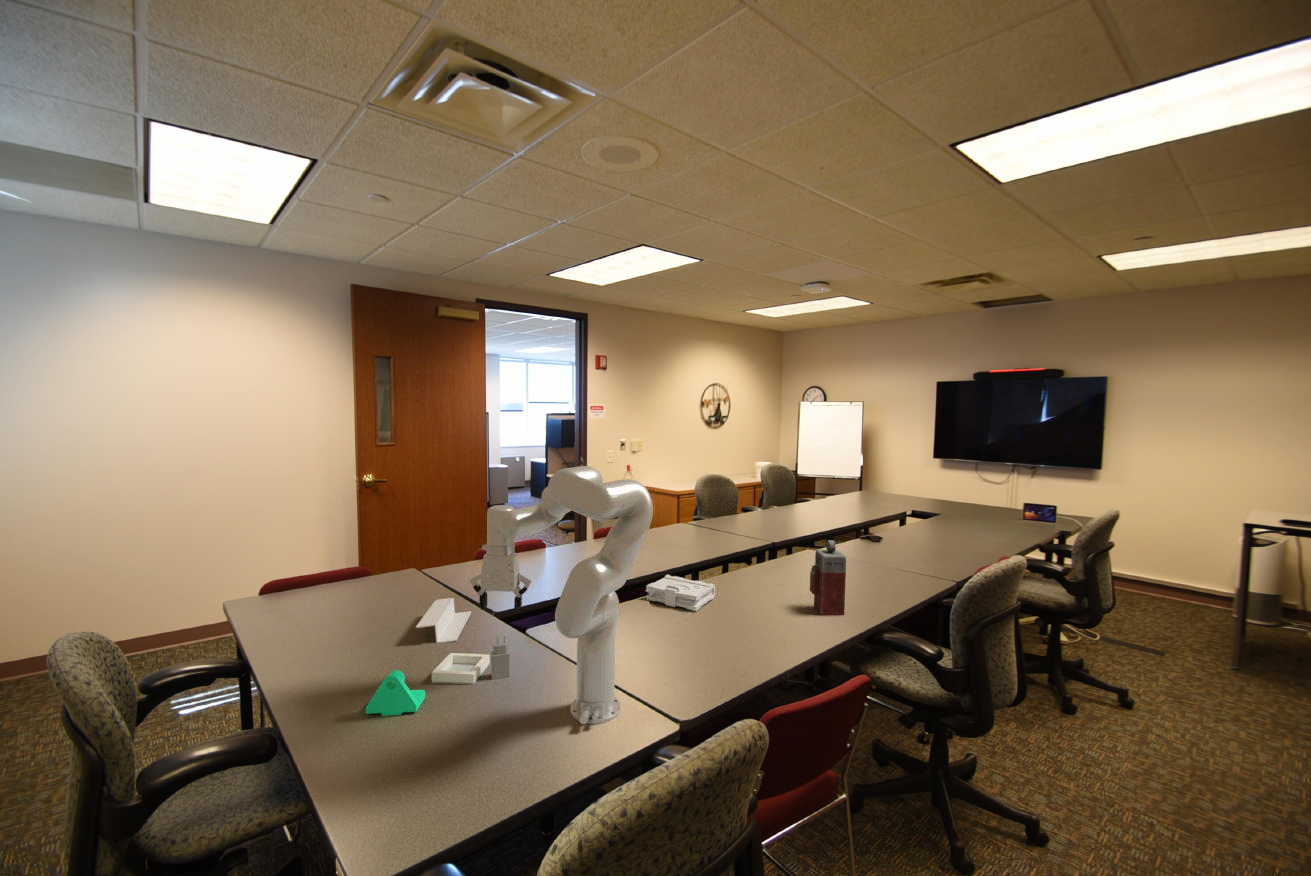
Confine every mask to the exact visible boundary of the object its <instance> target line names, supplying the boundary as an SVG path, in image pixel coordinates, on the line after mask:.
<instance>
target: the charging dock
mask: <svg viewBox="0 0 1311 876" xmlns="http://www.w3.org/2000/svg"><path fill="white" fill-rule="evenodd" d="M490 661H491V654H487V653H486V654H483V653H463V652H462V653H461V652H458V653H456V652H450V653H449V654H448V655H447V656H446V657H445V658H444V659H443V660H442V661H441V662H440V663H439V664H438V665H437V666H436V667H435V668H434V669H433V671H432V672H431V684H457V685H460V684H461V685H462V684H463V685H475V683H476V682H477V681H478V680H479V678H480V677H481V676H482V675H483V673H484V672H485V671H486V670H487V668H488V667H489V665H491V662H490Z"/></svg>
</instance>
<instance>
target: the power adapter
mask: <svg viewBox="0 0 1311 876" xmlns="http://www.w3.org/2000/svg"><path fill="white" fill-rule="evenodd" d="M496 638H497V639H496V641H497V642H496V643H494V644H493V645H492V651H491V654H490V661H491V662H490V667H491V668H490V671H491V672H490V676H491V677H490V679H491V680H500V679H506V678H507V679H508V678H511V676H512V650H511V649H510V643H509V642H506V635H504V636H503V642H499V636H498V635H497V637H496Z"/></svg>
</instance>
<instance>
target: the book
mask: <svg viewBox="0 0 1311 876" xmlns="http://www.w3.org/2000/svg"><path fill="white" fill-rule="evenodd" d="M645 592H646V593H648V594H647V595H646V596H645V598H648V599H649V600H648V599H646V601H647V600H648V601H651V602H659V603H663V604H664V605H665V606H669V607H673V608H676V607H679V608H680V607H681V608H685V609H686V610H688V611H689V610H690V611H694V612H697V611H699V610H700V609H701V608H702V607H703V606H704V605H705V604H707V603H708V602H709V601H713V600H714V598H715V595H716V584H714V583H708V582H707V583H706V582H705V581H701V580H691V579H687V578H684V577H680V576H677V575H674V576H673V575H670V574H665V576H664V577H663V578H661V579H659V580H656V581H655V582H651V583H648V584H647V585H646V590H645ZM712 599H713V600H712Z"/></svg>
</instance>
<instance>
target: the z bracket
mask: <svg viewBox="0 0 1311 876" xmlns="http://www.w3.org/2000/svg"><path fill="white" fill-rule="evenodd" d="M471 614H472V611H471V610H470V611H462V612H456V611H455V598H454V597H448V598H439V599H438V598H437V599H435V601H433V603H432V605H430V607H429V608H428V610H427V611H426V612H425V614H424V615H423V616H422V617H421V619H420V620H419V621H418V623H417V625H416V626H415V629H420V628H428V627H434V632H435V642H436V644H441V643H443V644H444V643H451V642H457V641H458V639H459V636H460V635H461V633H462V631H463V629H464V627H465V625H466V623H467V621H468V620H469V618H470V616H471Z"/></svg>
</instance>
